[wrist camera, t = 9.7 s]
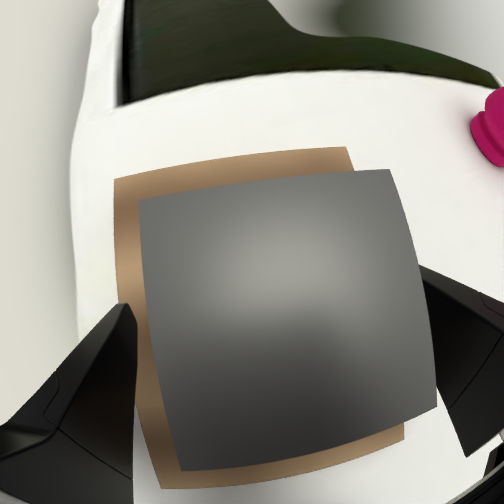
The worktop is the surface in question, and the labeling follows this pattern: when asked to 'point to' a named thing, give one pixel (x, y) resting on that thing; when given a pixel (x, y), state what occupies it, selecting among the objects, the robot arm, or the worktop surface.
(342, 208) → the plug block
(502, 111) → the pepper mill
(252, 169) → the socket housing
